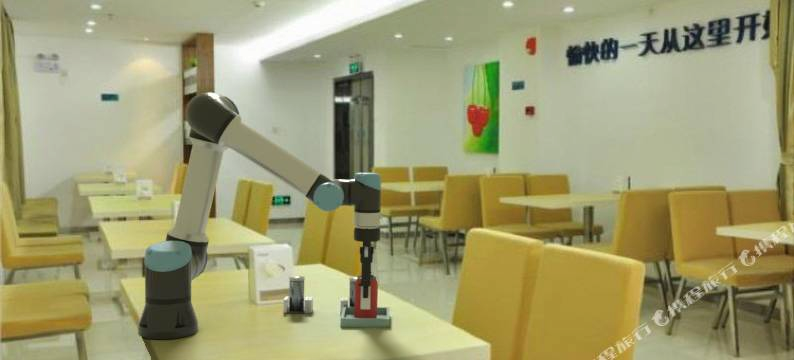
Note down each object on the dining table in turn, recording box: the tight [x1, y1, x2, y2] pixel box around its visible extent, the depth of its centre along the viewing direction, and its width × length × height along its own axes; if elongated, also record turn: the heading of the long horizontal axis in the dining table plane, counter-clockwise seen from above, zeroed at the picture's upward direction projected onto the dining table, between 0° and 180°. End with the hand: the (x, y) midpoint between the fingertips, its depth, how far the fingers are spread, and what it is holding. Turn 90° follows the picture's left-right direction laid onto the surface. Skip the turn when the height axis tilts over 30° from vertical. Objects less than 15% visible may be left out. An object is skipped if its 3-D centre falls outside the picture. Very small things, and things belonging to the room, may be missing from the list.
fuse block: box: [283, 275, 359, 315], centre depth 211 cm, size 5×25×10 cm, turn 91°
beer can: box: [354, 274, 379, 318], centre depth 202 cm, size 7×7×12 cm
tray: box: [339, 306, 391, 328], centre depth 202 cm, size 14×14×2 cm
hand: (365, 304), depth 201 cm, fingers open, 9 cm apart
